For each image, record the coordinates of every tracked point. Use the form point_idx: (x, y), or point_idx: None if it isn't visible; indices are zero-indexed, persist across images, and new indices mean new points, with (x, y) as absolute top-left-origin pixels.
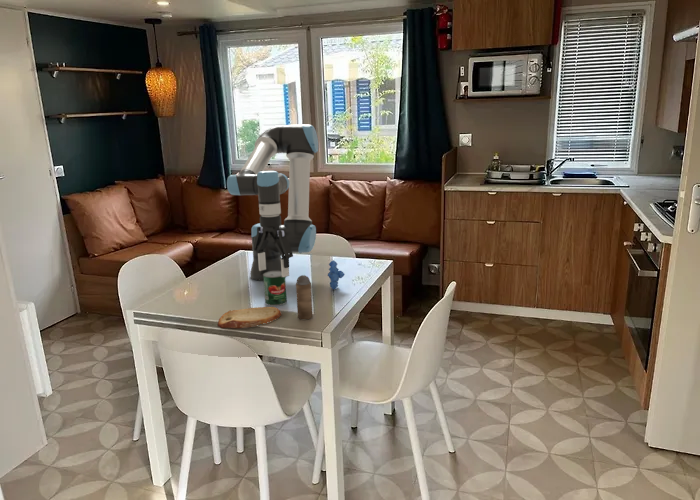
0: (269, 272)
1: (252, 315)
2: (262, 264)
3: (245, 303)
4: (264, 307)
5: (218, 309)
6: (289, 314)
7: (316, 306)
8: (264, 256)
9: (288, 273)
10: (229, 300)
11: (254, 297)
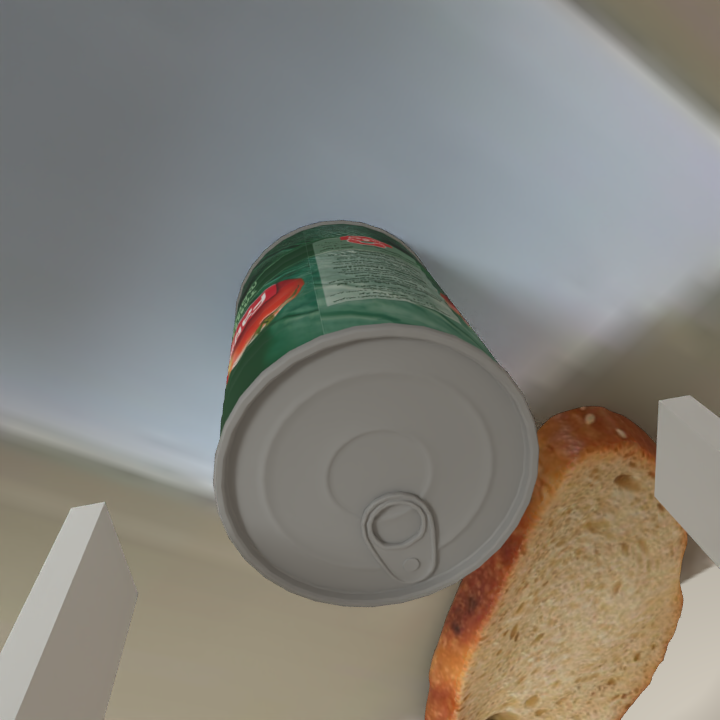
0: (237, 487)
1: (565, 617)
2: (102, 626)
3: (190, 524)
4: (536, 531)
5: (198, 694)
6: (670, 369)
7: (715, 79)
8: (32, 708)
9: (711, 422)
10: None
11: (71, 413)
